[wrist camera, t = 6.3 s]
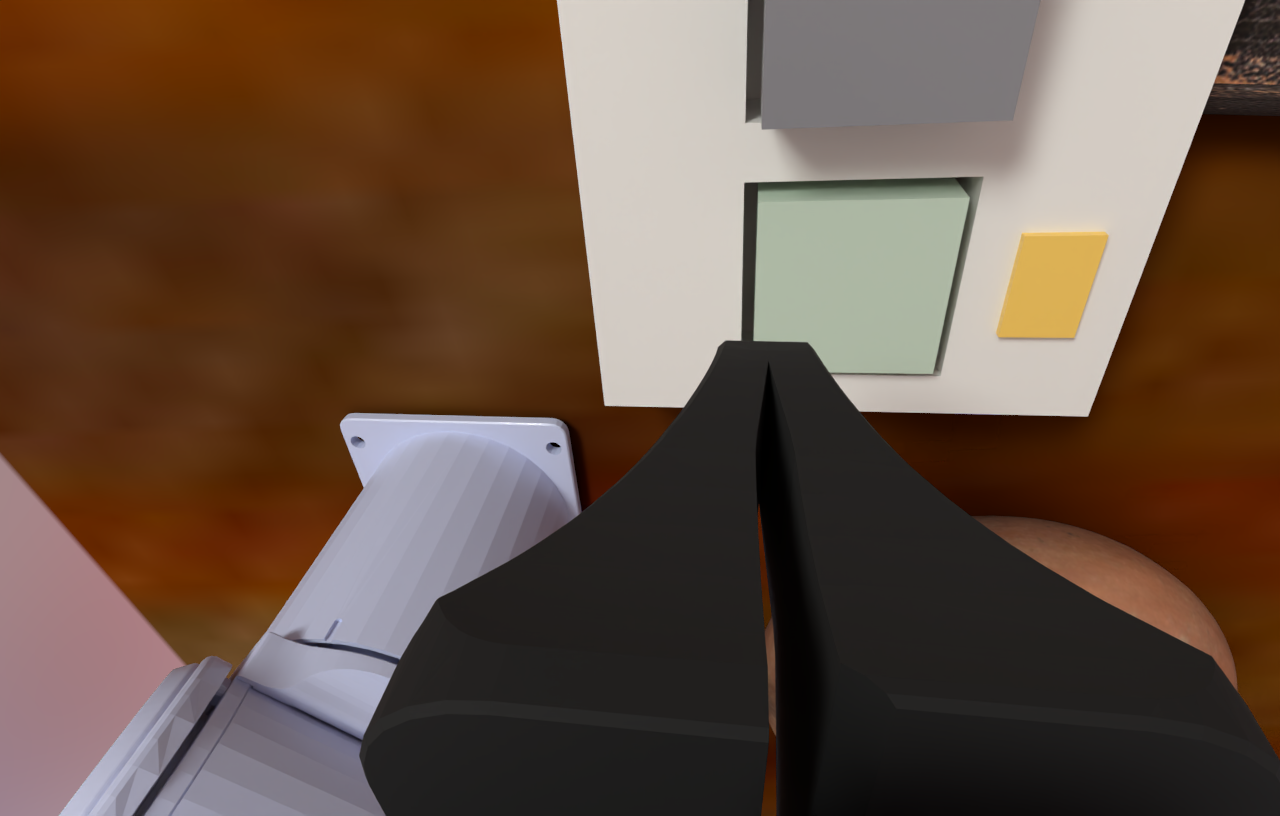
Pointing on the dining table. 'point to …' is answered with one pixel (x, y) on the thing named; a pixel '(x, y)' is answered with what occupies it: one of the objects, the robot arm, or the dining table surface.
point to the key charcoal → (892, 61)
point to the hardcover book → (1250, 64)
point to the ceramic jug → (1097, 585)
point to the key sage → (858, 269)
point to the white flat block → (969, 151)
